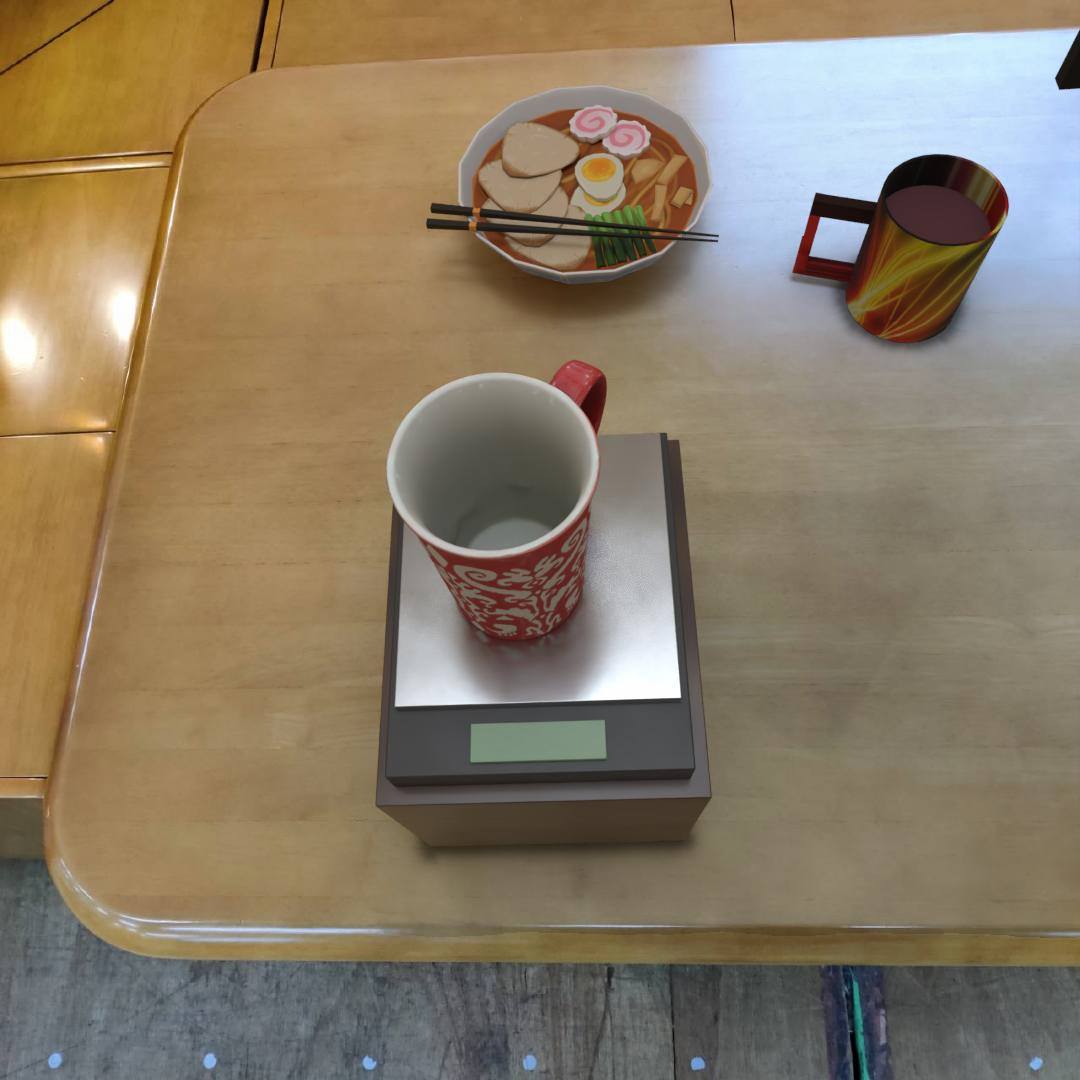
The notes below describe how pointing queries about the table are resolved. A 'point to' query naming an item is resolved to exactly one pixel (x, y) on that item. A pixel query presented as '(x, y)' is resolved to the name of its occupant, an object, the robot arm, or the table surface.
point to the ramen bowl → (582, 183)
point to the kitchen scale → (553, 656)
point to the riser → (559, 805)
